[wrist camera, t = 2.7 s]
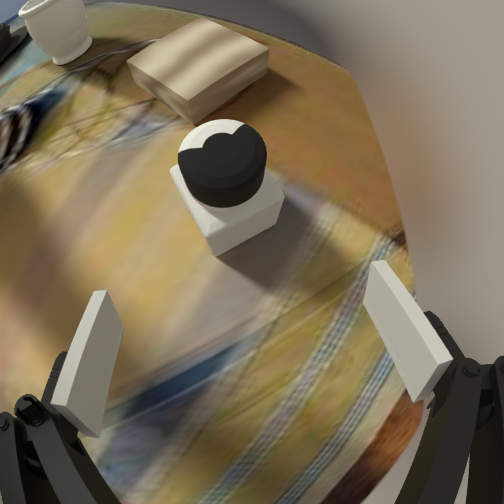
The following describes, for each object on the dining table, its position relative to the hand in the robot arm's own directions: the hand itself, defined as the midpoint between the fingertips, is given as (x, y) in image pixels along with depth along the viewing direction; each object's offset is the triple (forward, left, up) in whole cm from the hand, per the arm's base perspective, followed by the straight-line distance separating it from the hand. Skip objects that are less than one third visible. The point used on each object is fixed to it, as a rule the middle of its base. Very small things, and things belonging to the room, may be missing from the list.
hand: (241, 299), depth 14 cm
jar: (-53, +11, -14) cm, 56 cm away
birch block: (-25, +18, -15) cm, 34 cm away
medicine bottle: (-8, +6, -14) cm, 17 cm away
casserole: (-84, -2, -15) cm, 85 cm away
